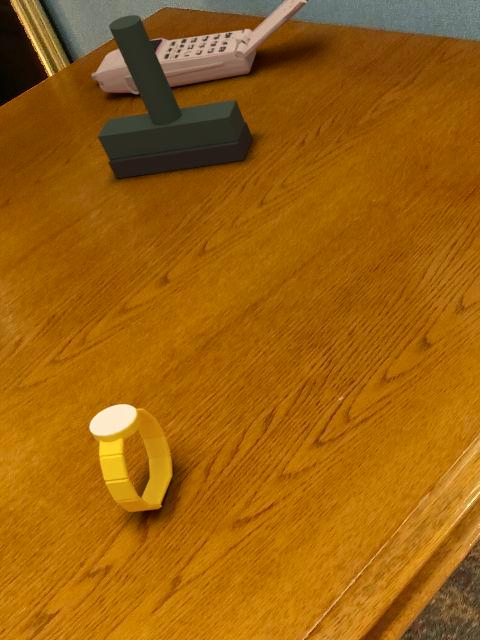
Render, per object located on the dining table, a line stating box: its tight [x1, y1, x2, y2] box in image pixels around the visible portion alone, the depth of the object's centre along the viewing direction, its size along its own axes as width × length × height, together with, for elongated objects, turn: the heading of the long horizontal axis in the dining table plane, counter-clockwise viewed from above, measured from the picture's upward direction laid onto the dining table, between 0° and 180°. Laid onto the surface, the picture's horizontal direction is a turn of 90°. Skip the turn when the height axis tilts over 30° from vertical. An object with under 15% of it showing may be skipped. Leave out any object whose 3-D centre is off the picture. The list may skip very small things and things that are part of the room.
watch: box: [89, 403, 173, 513], centre depth 59 cm, size 6×3×6 cm, turn 0°
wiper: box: [97, 14, 253, 180], centre depth 86 cm, size 12×4×12 cm, turn 90°
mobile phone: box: [91, 0, 309, 95], centre depth 100 cm, size 6×6×25 cm
